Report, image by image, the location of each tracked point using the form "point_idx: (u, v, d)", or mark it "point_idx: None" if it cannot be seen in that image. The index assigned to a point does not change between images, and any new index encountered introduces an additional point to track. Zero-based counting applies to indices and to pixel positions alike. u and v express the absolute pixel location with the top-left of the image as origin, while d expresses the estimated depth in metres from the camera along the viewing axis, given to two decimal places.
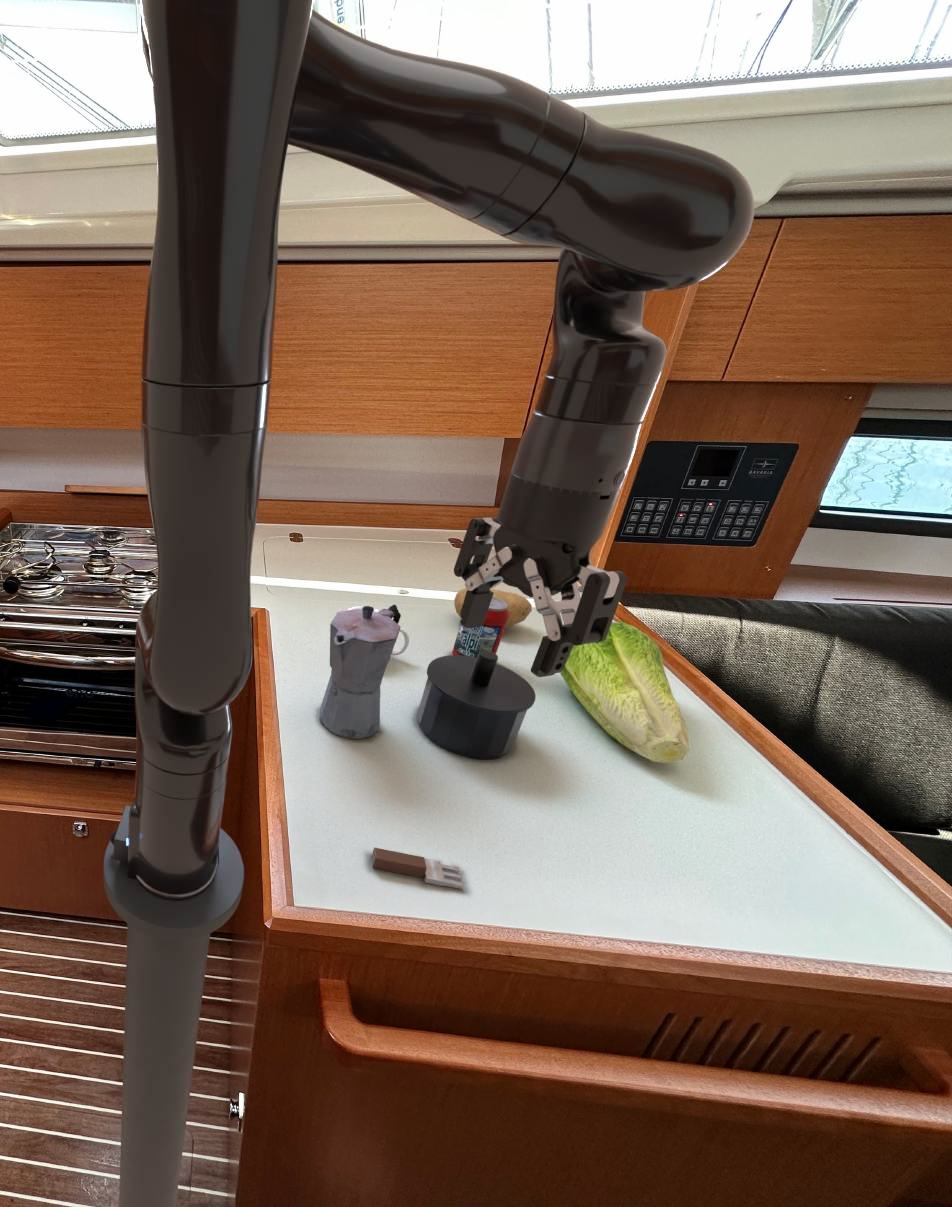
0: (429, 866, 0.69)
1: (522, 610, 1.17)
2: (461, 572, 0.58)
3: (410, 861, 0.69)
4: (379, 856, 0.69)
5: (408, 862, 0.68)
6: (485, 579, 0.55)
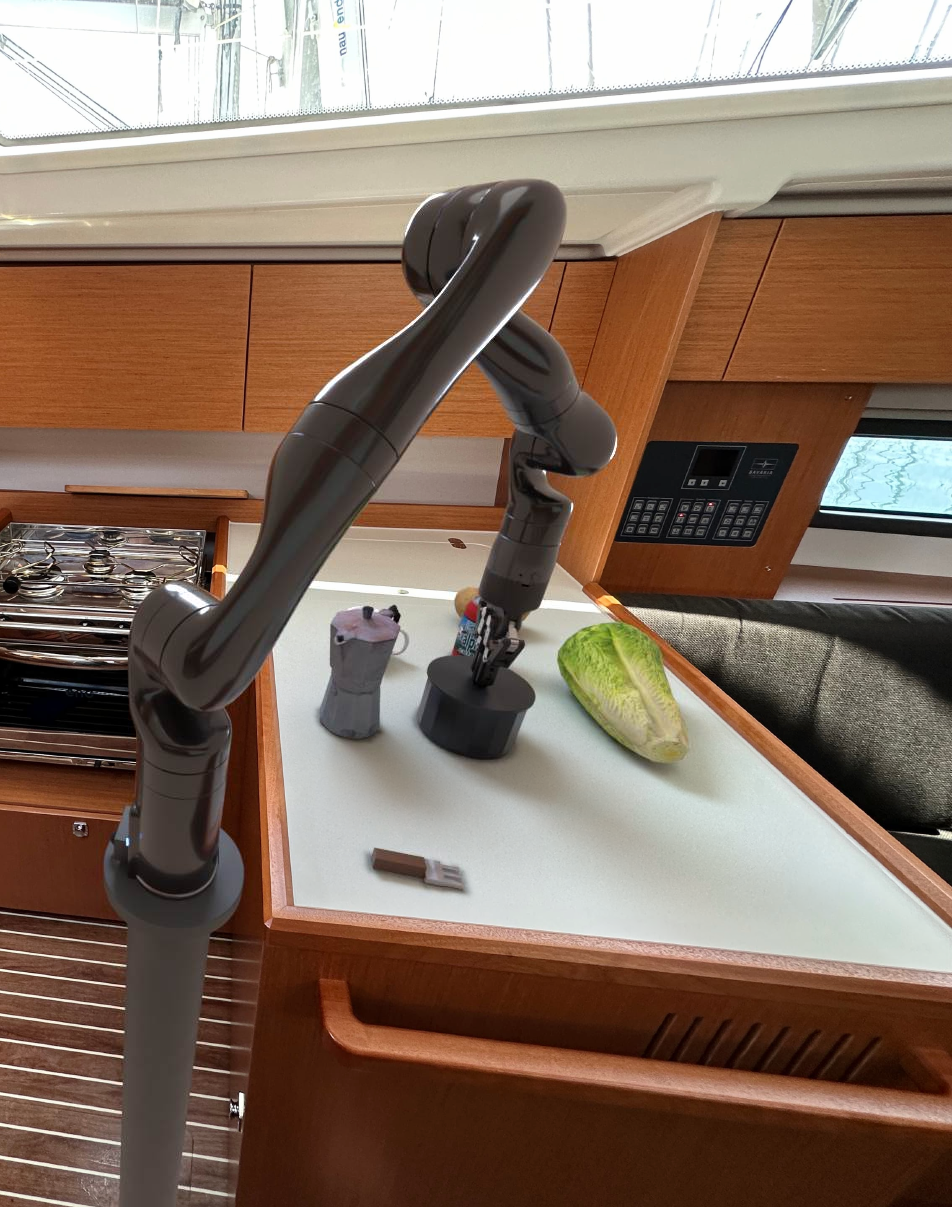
0: (429, 866, 0.69)
1: None
2: (476, 635, 0.89)
3: (410, 861, 0.69)
4: (379, 856, 0.69)
5: (408, 862, 0.68)
6: (480, 633, 0.86)
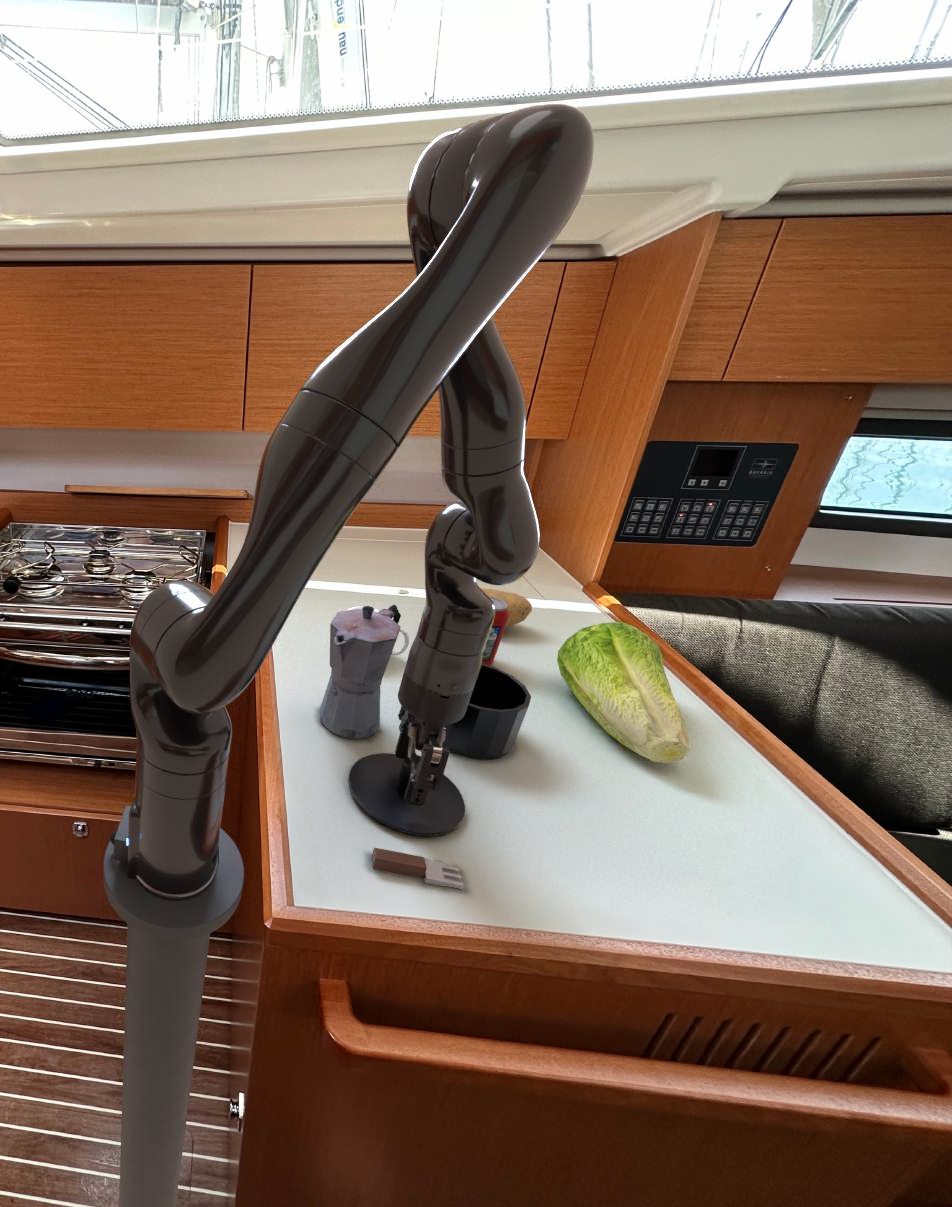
0: (429, 866, 0.69)
1: (522, 610, 1.17)
2: (400, 717, 0.82)
3: (410, 861, 0.69)
4: (379, 856, 0.69)
5: (408, 862, 0.68)
6: (401, 726, 0.78)
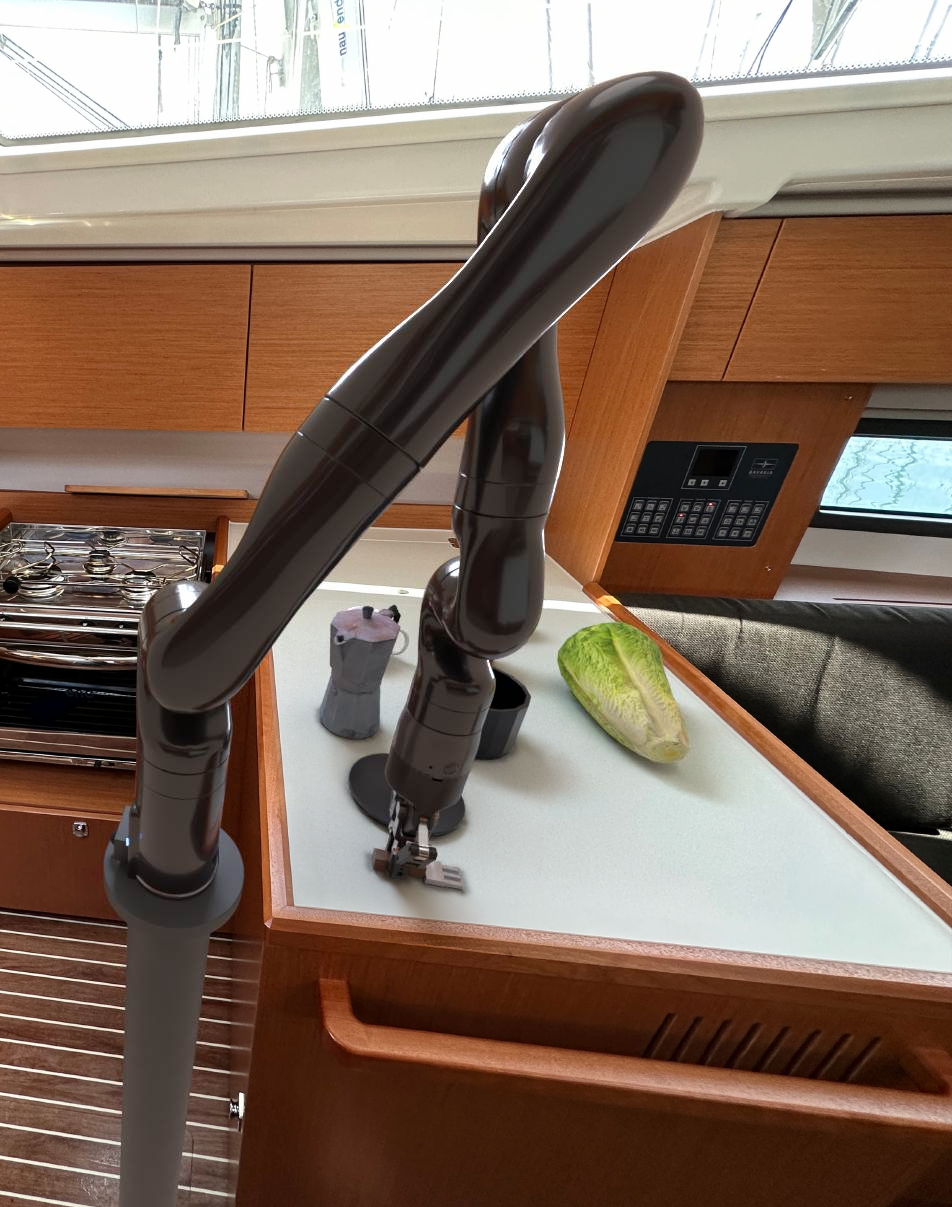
0: (429, 867, 0.69)
1: None
2: (390, 814, 0.70)
3: None
4: (379, 857, 0.69)
5: None
6: (391, 816, 0.68)
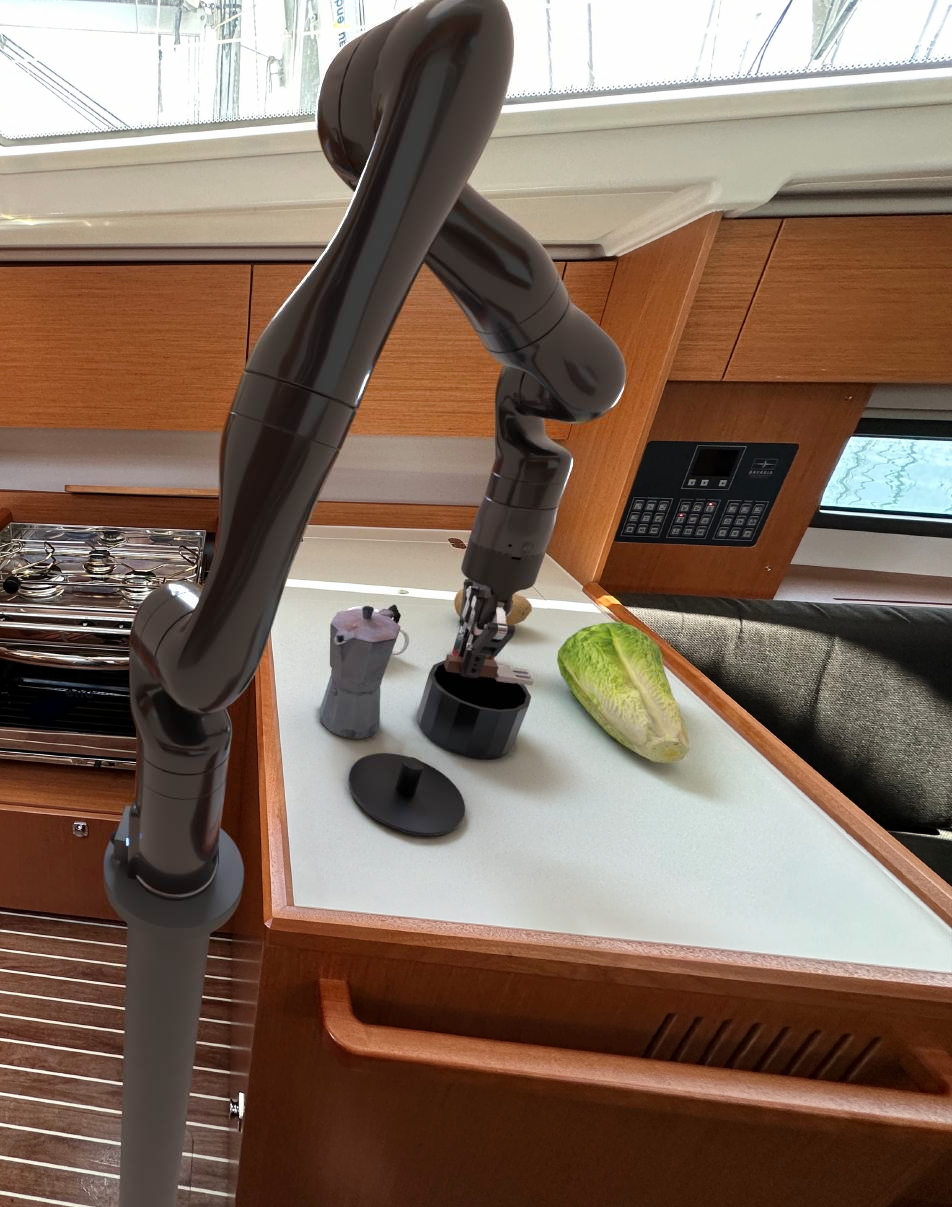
0: (499, 668, 0.74)
1: (522, 610, 1.17)
2: (461, 622, 0.75)
3: None
4: (453, 659, 0.74)
5: None
6: (465, 618, 0.73)
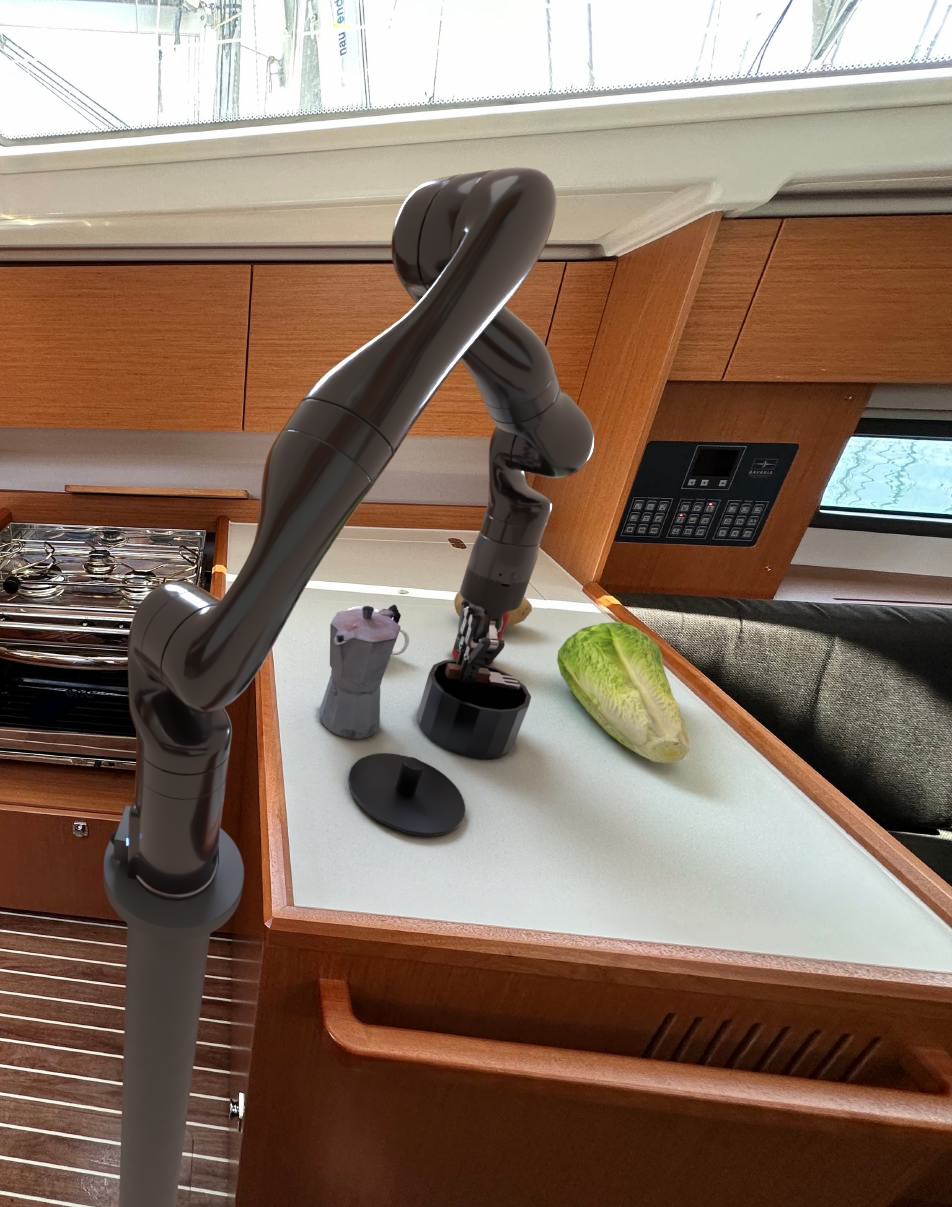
0: (491, 675, 0.88)
1: (522, 610, 1.17)
2: (459, 636, 0.89)
3: None
4: (453, 667, 0.88)
5: None
6: (462, 633, 0.87)
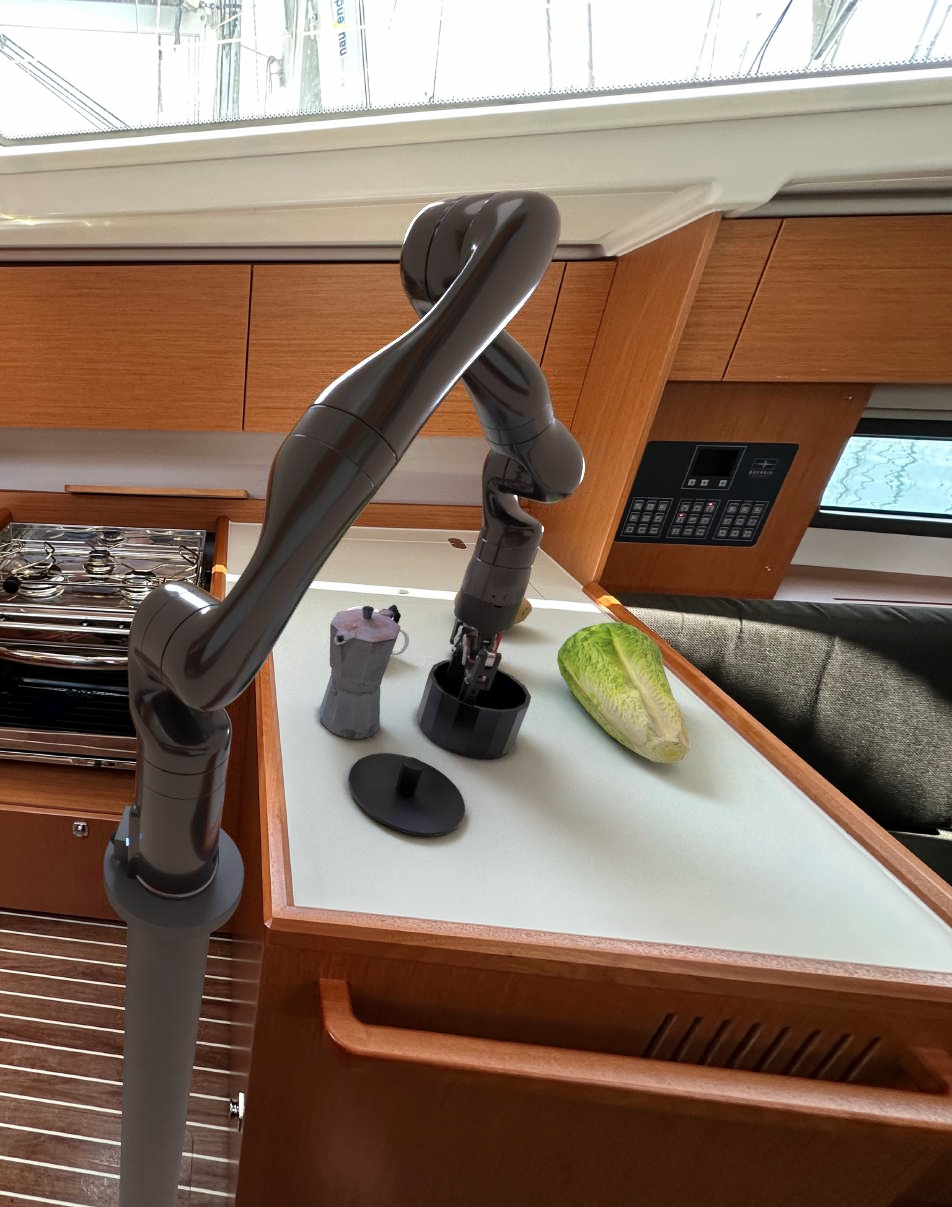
0: None
1: (522, 610, 1.17)
2: (451, 641, 0.93)
3: None
4: None
5: None
6: (455, 645, 0.89)
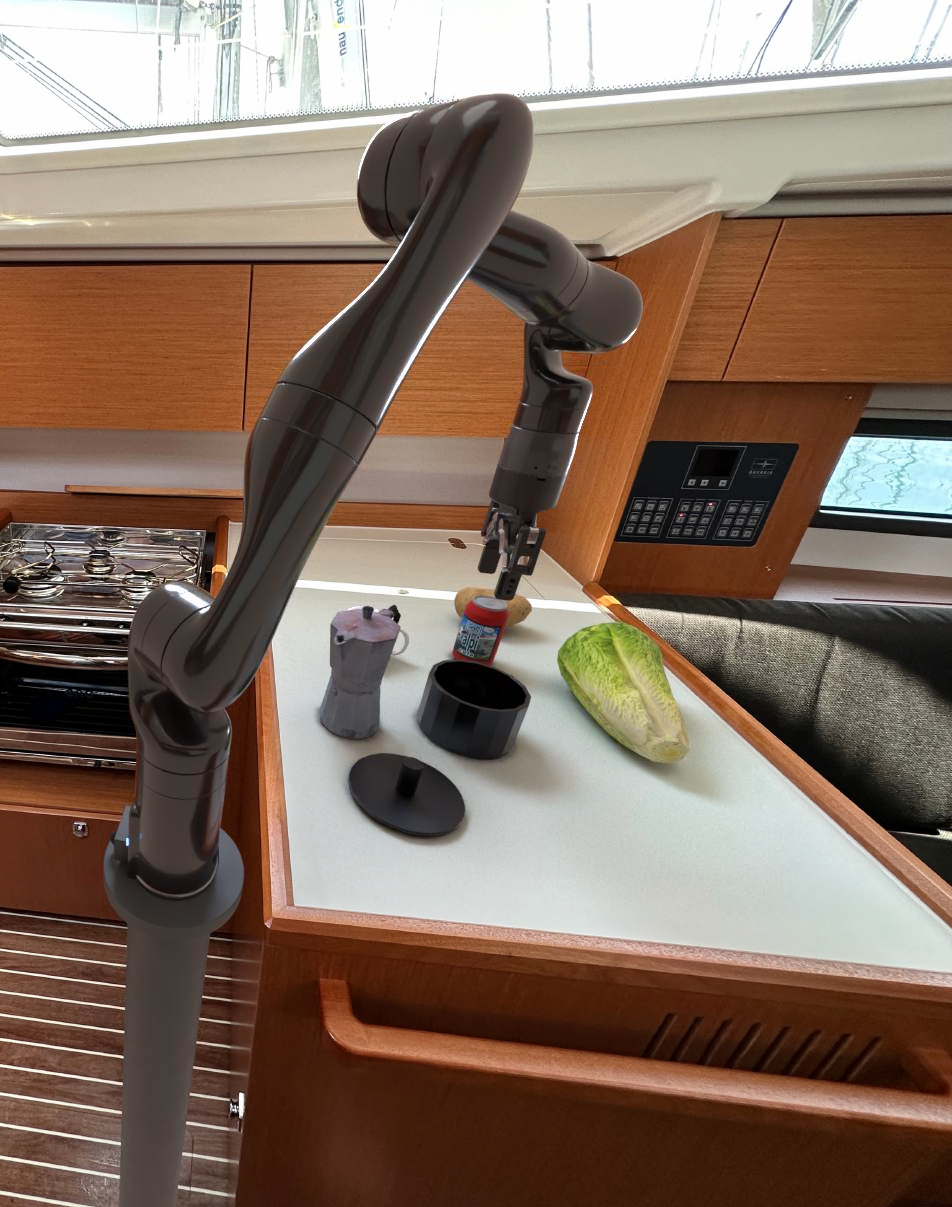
0: None
1: (522, 610, 1.17)
2: (483, 533, 0.85)
3: None
4: None
5: None
6: (488, 535, 0.82)
